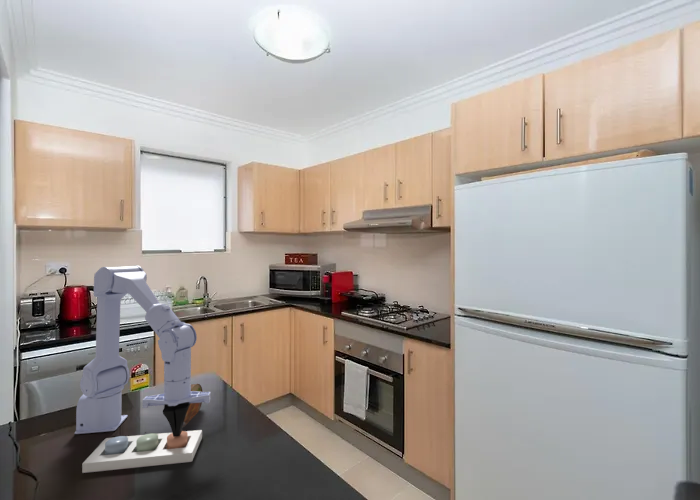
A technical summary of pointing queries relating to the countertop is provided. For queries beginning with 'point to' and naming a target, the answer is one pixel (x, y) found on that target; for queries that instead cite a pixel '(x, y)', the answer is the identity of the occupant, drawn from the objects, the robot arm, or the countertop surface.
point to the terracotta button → (177, 440)
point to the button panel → (142, 454)
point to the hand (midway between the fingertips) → (177, 434)
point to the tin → (193, 405)
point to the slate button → (116, 445)
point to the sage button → (147, 442)
